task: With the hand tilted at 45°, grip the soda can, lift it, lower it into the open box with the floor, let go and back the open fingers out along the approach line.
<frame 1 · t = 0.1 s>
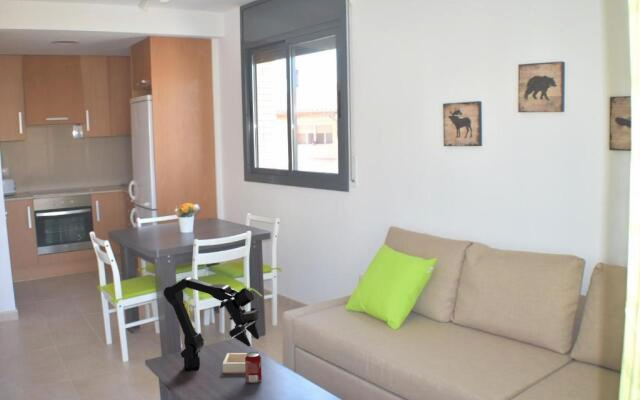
hand: (254, 342, 255), 15 cm above the table, tool tilted 35°, fingers open, 9 cm apart
soda can: (253, 381, 250), on the table
open box: (239, 367, 265), on the table
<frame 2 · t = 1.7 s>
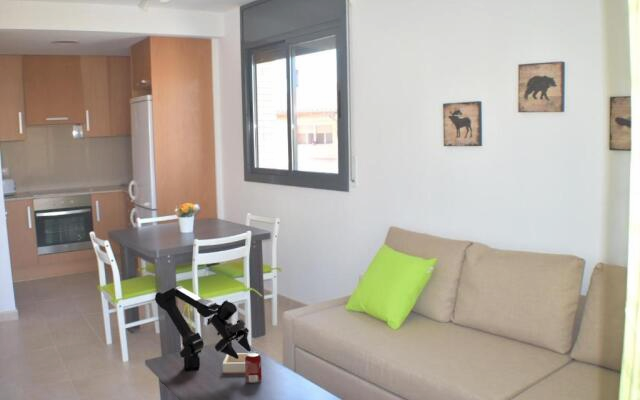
hand: (244, 354, 251), 11 cm above the table, tool tilted 45°, fingers open, 9 cm apart
nothing on the table moved.
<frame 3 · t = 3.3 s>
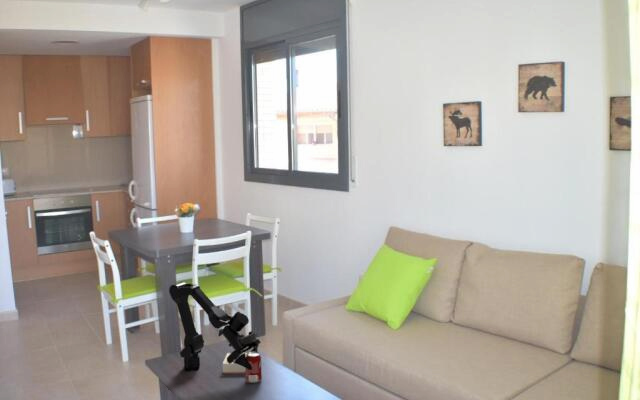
hand: (256, 366, 249), 7 cm above the table, tool tilted 45°, fingers closed on soda can, 6 cm apart
soda can: (253, 381, 250), on the table, touching gripper
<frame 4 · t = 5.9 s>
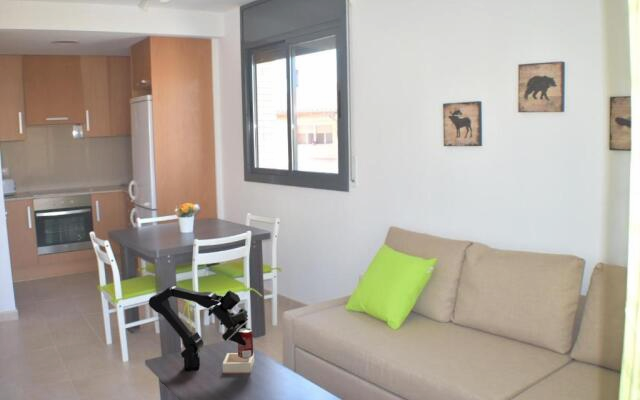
hand: (248, 342, 258), 14 cm above the table, tool tilted 45°, fingers closed on soda can, 6 cm apart
soda can: (245, 356, 259), point 7 cm above the table, touching gripper
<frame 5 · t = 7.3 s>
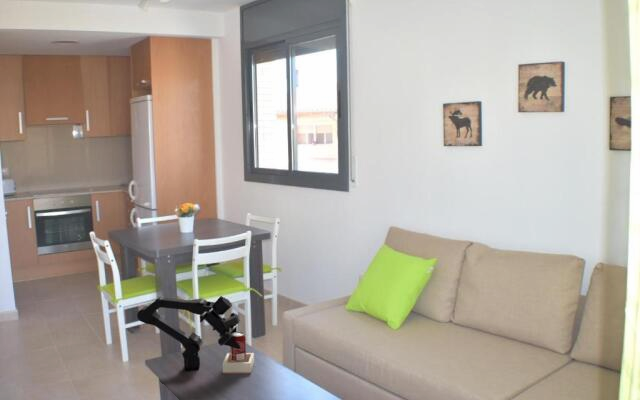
hand: (241, 345, 264), 10 cm above the table, tool tilted 45°, fingers closed on soda can, 6 cm apart
soda can: (238, 360, 265), point 4 cm above the table, touching gripper
when the fingers open (8 cm above the table, at t = 8.2 s): soda can drops 1 cm, resting on open box.
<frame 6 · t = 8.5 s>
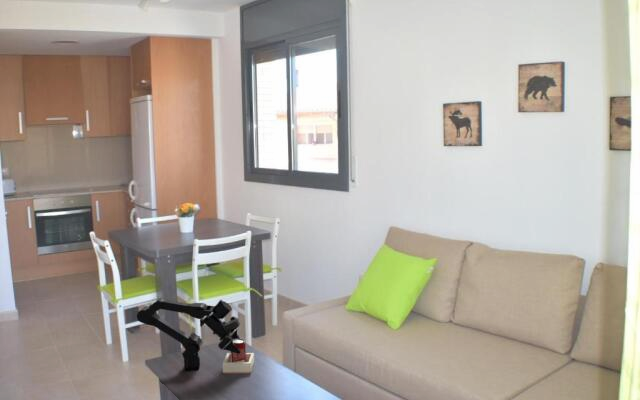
hand: (241, 349, 264), 9 cm above the table, tool tilted 45°, fingers open, 9 cm apart
soda can: (238, 366, 265), resting on open box
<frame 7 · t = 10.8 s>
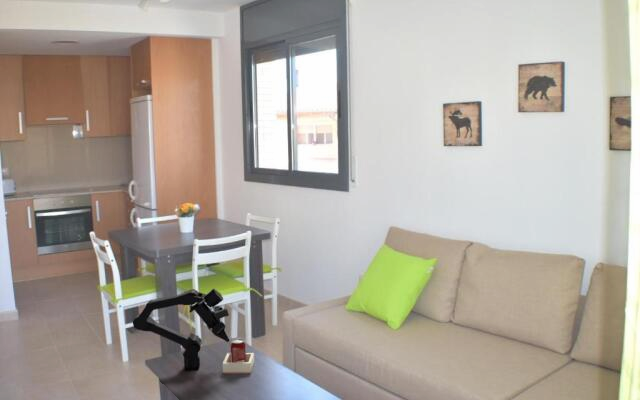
hand: (227, 339, 265), 13 cm above the table, tool tilted 35°, fingers open, 9 cm apart
nothing on the table moved.
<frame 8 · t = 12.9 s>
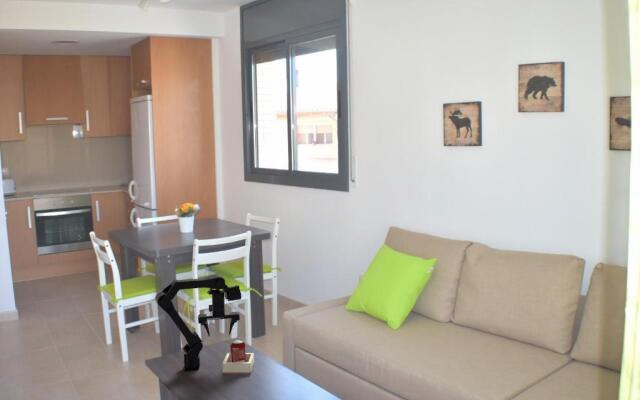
hand: (219, 335, 270), 13 cm above the table, tool pointing down, fingers open, 9 cm apart
nothing on the table moved.
at the end: soda can 0.2 cm off-centre on the open box, point 0.4 cm above the open box's base; soda can tilted 0°; the gripper is holding nothing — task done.
